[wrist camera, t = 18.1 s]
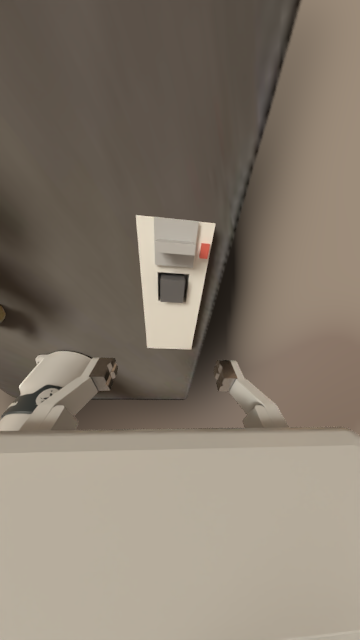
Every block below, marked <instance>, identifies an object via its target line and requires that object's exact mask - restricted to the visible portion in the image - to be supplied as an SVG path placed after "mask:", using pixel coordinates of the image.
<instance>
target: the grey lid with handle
mask: <svg viewBox="0 0 360 640" xmlns="http://www.w3.org/2000/svg"><path fill="white" fill-rule="evenodd" d="M198 225H199V221H189V220H180V219H170V218H161V217H154V244H155V265H163V266H176V267H188V268H193V262H194V256H195V248H196V240H197V232H198Z"/></svg>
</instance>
